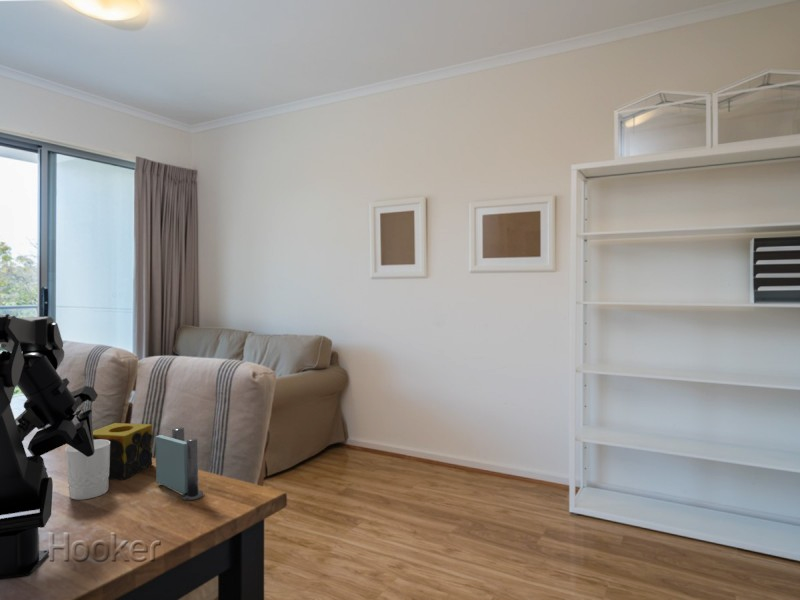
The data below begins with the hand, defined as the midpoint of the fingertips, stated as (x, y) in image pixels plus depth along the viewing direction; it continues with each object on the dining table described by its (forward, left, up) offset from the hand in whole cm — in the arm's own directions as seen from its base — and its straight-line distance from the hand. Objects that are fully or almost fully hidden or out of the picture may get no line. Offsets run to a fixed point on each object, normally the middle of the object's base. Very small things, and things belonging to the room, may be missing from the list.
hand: (91, 454), depth 92 cm
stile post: (+14, -12, -11) cm, 22 cm away
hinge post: (+5, -17, -11) cm, 21 cm away
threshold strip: (+10, -12, -11) cm, 20 cm away
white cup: (+12, +5, -12) cm, 17 cm away
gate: (+10, -12, -11) cm, 19 cm away
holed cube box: (+24, +3, -12) cm, 26 cm away
